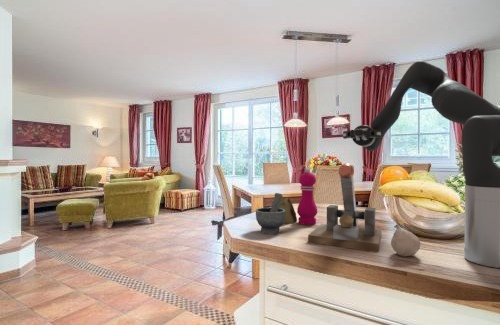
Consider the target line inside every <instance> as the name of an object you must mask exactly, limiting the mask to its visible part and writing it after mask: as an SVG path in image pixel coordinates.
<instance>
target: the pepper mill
mask: <svg viewBox="0 0 500 325" xmlns="http://www.w3.org/2000/svg"><path fill="white" fill-rule="evenodd" d="M316 181H317V178H316V176H315V175H314V173H313V172H311V169H310V168H305V170H304V172H303V173H302V174H300V176H299V179H298V182H299V184H300V190H301V197H300V201H299V203H298V205H297V211H296V212H297V213H296V214H298V216H299V217H298V224H300V225H305V226H308V225H309V226H312V225H316V224H317V218H316V216H317V214H318V207H317V204H316V201H315V200H314V199H315V198H314V191H315V186H314V185H315V184H316Z"/></svg>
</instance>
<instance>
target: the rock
mask: <svg viewBox="0 0 500 325" xmlns="http://www.w3.org/2000/svg"><path fill="white" fill-rule="evenodd" d="M279 208H280V209H285V220H284V222H283V224H294V223H298V216H297V213H296V212H297V211H295V208H294V205H293V203H292V201H291V199H290V197H282V199H281V202H280V207H279Z"/></svg>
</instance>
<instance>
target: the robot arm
mask: <svg viewBox="0 0 500 325" xmlns="http://www.w3.org/2000/svg"><path fill="white" fill-rule="evenodd" d="M410 89H412V90H415V91H417V92H420V93H422V94H424V95H428V96H429V97H431V99H430V100H431V105H432V107H433V108H434V109H435V111H437V112H438V113H439V114H440V115H441V116H442V117H443V118H445V119H447V120H448V121H451V122H453V123H456V124H459V125H462V126H463V127H462V131H461V150H462V151H461V153H462V154H461V155H462V171H463V175H464V180H465V181H464V184H465V186H464V245H463V246H464V247H463V248H464V249H463V251H464V255H463V257H464V258H465V260H467V261H469V262H471V263H474V264H477V265H481V266H485V267H490V268H496V269H500V167H499V166H497V165H496V164H495V162H494V160H493V157H500V107H499V106H497V105H495V104H493V103H491V102H490V101H488V100H487V99H486V98H483V97H482V96H480V94H477V93H476V92H474V91H473V90H471V88H470V87H467V86H466V85H464V84H462V83H461V82H458V81H456V80H453V79H452V78H451V77H449V75H448V74H447V73H446V72H445V71H444V70H443V69H442V68H440V67H438V66H436V65H433V64H431V63H428V62H426V61H424V60H416V61H415V62H413V63H412V64H411V65H410V66H409V67H408V69H407V70H406V71H405V72H404V74H403V76H402V77H401V79H400V80H399V82H398V83H397V85H396V87H395V88H394V90H393V91H392V93H391V95H390V97H389V98H388V100H387V102H386V103H385V104H384V105H383V107H382V109H381V110H380V111H379V112H378V114H377V115H376V116H375V117H374V118H373V119H372V120H371V122H370V125H367V124H366V125H365V124H362V125H361V124H360V125H358V126H356V127H355V128H354V129H350V130H349V129H348V130H344V131H342V139H343V140H346V139H352V141H353V142H354V143H355V144H356V145H357V146H360V147H363V148H364V149H366V151H368V152H373V151H376V150H377V149H378V148H379V147H380V146H381V143H382V141H383V139H384V137H385V135H386V133H387V132H388V131H389V129H391V127H392V126H393V125H394V124H395V123H396V122H397V121H398V119H399V118H400V115H401V109H402V103H403V98H404V96H405V95H406V93H407V91H408V90H410Z"/></svg>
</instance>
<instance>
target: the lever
mask: <svg viewBox="0 0 500 325" xmlns="http://www.w3.org/2000/svg"><path fill="white" fill-rule="evenodd" d="M337 171H338V175H339V176H340V178H339V179H340V185H341V187H340V188H341V194H342V202H343V209H338V210H337V217H338V218H340V217H341V216H342V215H345V214H347V215H350V216H351V217H352V218H353V225H352V226H355V227H358V226H359V224H358V223H359V220H365V211H359V210H357V204H356V193H355V192H356V191H355V184H354V173H355V168H354V167H353V165H351V164H350V163H343V164H341V165H340V166H339V167H338V170H337Z"/></svg>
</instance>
